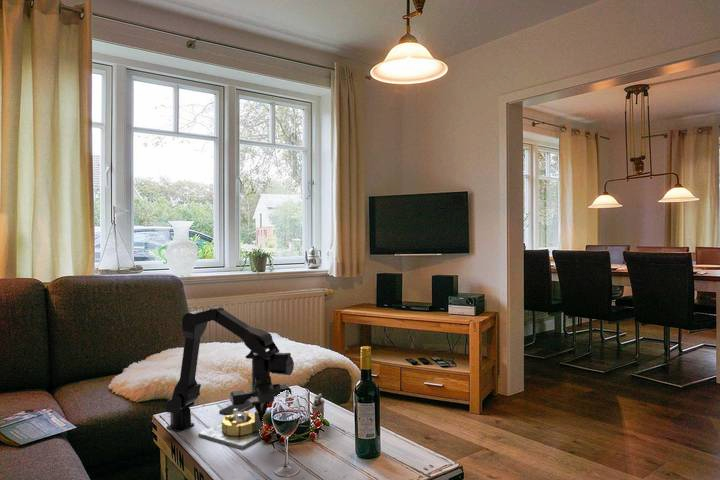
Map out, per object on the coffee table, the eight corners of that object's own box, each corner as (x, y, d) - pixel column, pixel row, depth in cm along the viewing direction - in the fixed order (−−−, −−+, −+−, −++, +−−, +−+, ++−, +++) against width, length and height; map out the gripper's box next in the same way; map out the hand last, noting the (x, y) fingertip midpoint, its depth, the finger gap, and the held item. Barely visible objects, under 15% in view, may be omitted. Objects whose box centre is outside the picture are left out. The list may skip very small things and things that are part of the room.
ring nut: (216, 434, 155) (216, 415, 155) (232, 421, 166) (231, 403, 166) (271, 438, 152) (271, 419, 152) (283, 424, 163) (283, 406, 163)
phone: (260, 401, 187) (234, 414, 174) (260, 404, 187) (234, 417, 174) (244, 398, 191) (217, 411, 177) (244, 401, 191) (217, 414, 177)
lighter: (319, 430, 161) (319, 400, 161) (309, 429, 162) (309, 399, 162) (326, 421, 169) (326, 392, 169) (316, 420, 170) (316, 391, 170)
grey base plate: (198, 436, 157) (198, 417, 157) (238, 417, 172) (238, 401, 172) (242, 449, 147) (242, 429, 147) (280, 428, 163) (280, 410, 163)
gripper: (236, 383, 144) (236, 435, 144) (296, 375, 152) (296, 425, 152) (229, 373, 154) (229, 422, 154) (286, 366, 162) (286, 413, 162)
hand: (261, 421), depth 156 cm, fingers closed
